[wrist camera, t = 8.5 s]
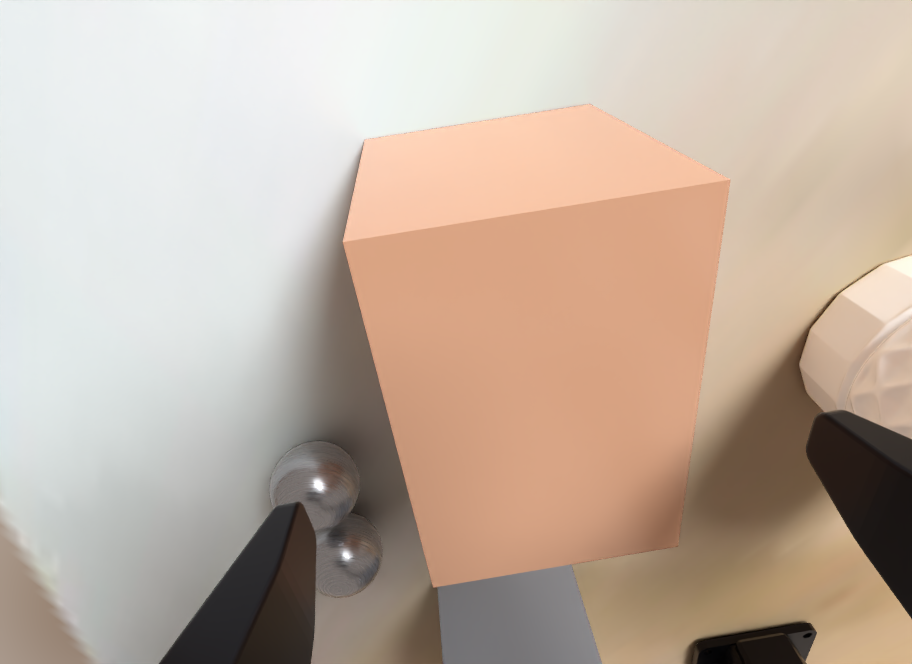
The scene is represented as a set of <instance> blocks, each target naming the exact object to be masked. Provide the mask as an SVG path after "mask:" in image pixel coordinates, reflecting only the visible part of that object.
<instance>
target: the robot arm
mask: <svg viewBox="0 0 912 664" xmlns="http://www.w3.org/2000/svg"><path fill="white" fill-rule="evenodd" d="M806 453H807V457H808V459H809V462H810V463H811V465H812V467H813V469H814V470H815V472H816V474H817V475H818V477H819V479H820V481H821V482H822V484H823V486H824V487H825V489H826V491H827V493H828V494H829V496H830V498H831V500H832V501H833V503H834V505H835V506H836V508H837V510H838V512H839V513H840V515H841V517H842V518H843V520H844V522H845V524H846V525H847V527H848V529H849V530H850V532H851V533H852V535H853V537H854V538H855V540H856V541H857V543H858V544H859V546H860V547H861V549H862V550H863V552H864V553H865V554H866V556H867V557H868V559H869V560H870V561H871V563H872V564H873V566H874V567H875V568H876V570H877V571H878V572H879V574H880V575H881V577H882V578H883V579H884V581H885V582H886V584H887V585H888V586H889V588H890V589H891V591H892V592H893V593H894V595H895V596H896V597H897V599H898V600H899V602H900V603H901V604H902V606H903V607H904V609H905V610H906V611H907V613H908V614H909V616H910V617H911V618H912V439H910V438H908V437H906V436H904V435H901V434H899V433H897V432H895V431H892V430H890V429H888V428H885V427H883V426H881V425H879V424H876V423H874V422H872V421H869V420H867V419H865V418H863V417H860V416H858V415H856V414H854V413H851V412H849V411H846V410H833V411H827V412H821V413H819V414H818V415H817V416H816V417H815V419H814V421H813V425H812V428H811V431H810V435H809V438H808V441H807V445H806ZM316 548H317V543H316V534H315V531H314V528H313V526H312V523H311V521H310V519H309V516H308V514H307V512H306V510H305V507H304V505H303V504H302V503H301V502H299V501H295V502H290V503H284V504H279V505H277V506H276V507H275V508H274V509H273V510H272V511H271V513H270V514H269V515H268V517H267V518H266V520H265V521H264V522H263V524H262V525H261V526H260V528H259V529H258V530H257V532H256V533H255V534H254V536H253V537H252V538H251V540H250V541H249V543H248V544H247V545H246V547H245V548H244V549H243V551H242V552H241V553H240V555H239V556H238V557H237V559H236V560H235V561H234V563H233V564H232V565H231V567H230V568H229V570H228V571H227V572H226V574H225V575H224V576H223V578H222V579H221V580H220V582H219V583H218V584H217V586H216V587H215V588H214V590H213V591H212V593H211V594H210V595H209V597H208V598H207V599H206V601H205V602H204V603H203V605H202V606H201V607H200V609H199V610H198V611H197V613H196V614H195V615H194V617H193V618H192V620H191V621H190V622H189V624H188V625H187V626H186V628H185V629H184V630H183V632H182V633H181V634H180V636H179V637H178V638H177V640H176V641H175V643H174V644H173V645H172V647H171V648H170V649H169V651H168V652H167V653H166V655H165V656H164V657H163V659H162V660H161V661H160V663H159V664H311V657H312V649H313V640H314V626H315V591H316ZM816 634H817V632H816V630H815V629H814V627H813V626H812V624H811V623H803V624H797V625H791V626H785V627H779V628H774V629H768V630H762V631H756V632H751V633H745V634H739V635H733V636H727V637H722V638H716V639H710V640H704V641H701V642H699V643H698V644H696V646H695V649H694V654H693V659H692V664H806V662H805V661H806V658H807V656H808V653H809V651H810V649H811V646H812V644H813V641H814V639H815V637H816Z"/></svg>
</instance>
